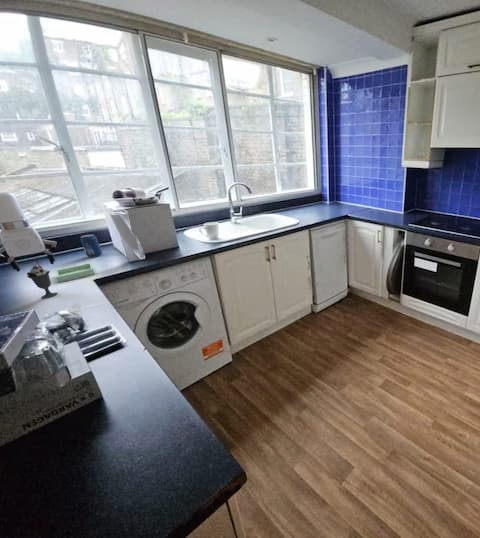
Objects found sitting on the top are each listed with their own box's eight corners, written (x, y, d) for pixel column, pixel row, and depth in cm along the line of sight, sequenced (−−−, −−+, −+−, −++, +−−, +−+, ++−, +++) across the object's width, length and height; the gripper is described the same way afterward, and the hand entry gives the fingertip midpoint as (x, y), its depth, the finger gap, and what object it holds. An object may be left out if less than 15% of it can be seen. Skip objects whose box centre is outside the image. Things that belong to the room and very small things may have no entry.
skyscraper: (145, 260, 160) (127, 208, 149) (127, 263, 156) (107, 211, 145) (145, 255, 167) (128, 206, 156) (127, 259, 163) (109, 208, 152)
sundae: (60, 290, 128) (44, 258, 122) (60, 295, 123) (44, 262, 117) (38, 295, 123) (21, 262, 118) (38, 301, 119) (20, 267, 113)
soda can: (100, 252, 174) (92, 233, 169) (104, 254, 170) (96, 235, 166) (85, 256, 169) (77, 236, 164) (89, 258, 165) (80, 238, 160)
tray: (57, 282, 136) (55, 277, 135) (58, 275, 144) (55, 270, 143) (94, 274, 144) (92, 269, 143) (92, 267, 152) (90, 262, 151)
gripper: (-22, 232, 104) (3, 276, 110) (45, 222, 114) (65, 263, 121) (-19, 228, 109) (5, 270, 115) (46, 219, 119) (65, 258, 126)
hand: (36, 266), depth 118 cm, fingers open, 9 cm apart
